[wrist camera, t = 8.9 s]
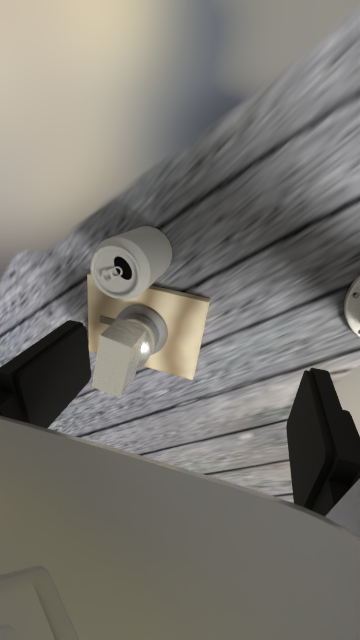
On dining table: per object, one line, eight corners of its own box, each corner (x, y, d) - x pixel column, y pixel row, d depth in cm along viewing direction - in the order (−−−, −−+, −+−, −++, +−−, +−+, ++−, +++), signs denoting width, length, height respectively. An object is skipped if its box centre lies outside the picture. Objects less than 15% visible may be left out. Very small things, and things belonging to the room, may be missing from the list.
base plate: (210, 298, 42) (207, 304, 40) (194, 374, 49) (191, 383, 47) (92, 271, 45) (83, 276, 43) (93, 346, 52) (86, 353, 50)
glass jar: (124, 301, 43) (90, 331, 34) (165, 317, 42) (142, 351, 34) (114, 352, 48) (82, 389, 39) (151, 366, 47) (127, 407, 38)
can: (183, 262, 41) (157, 289, 30) (143, 282, 44) (107, 313, 33) (158, 215, 39) (121, 226, 28) (118, 240, 42) (71, 258, 31)
